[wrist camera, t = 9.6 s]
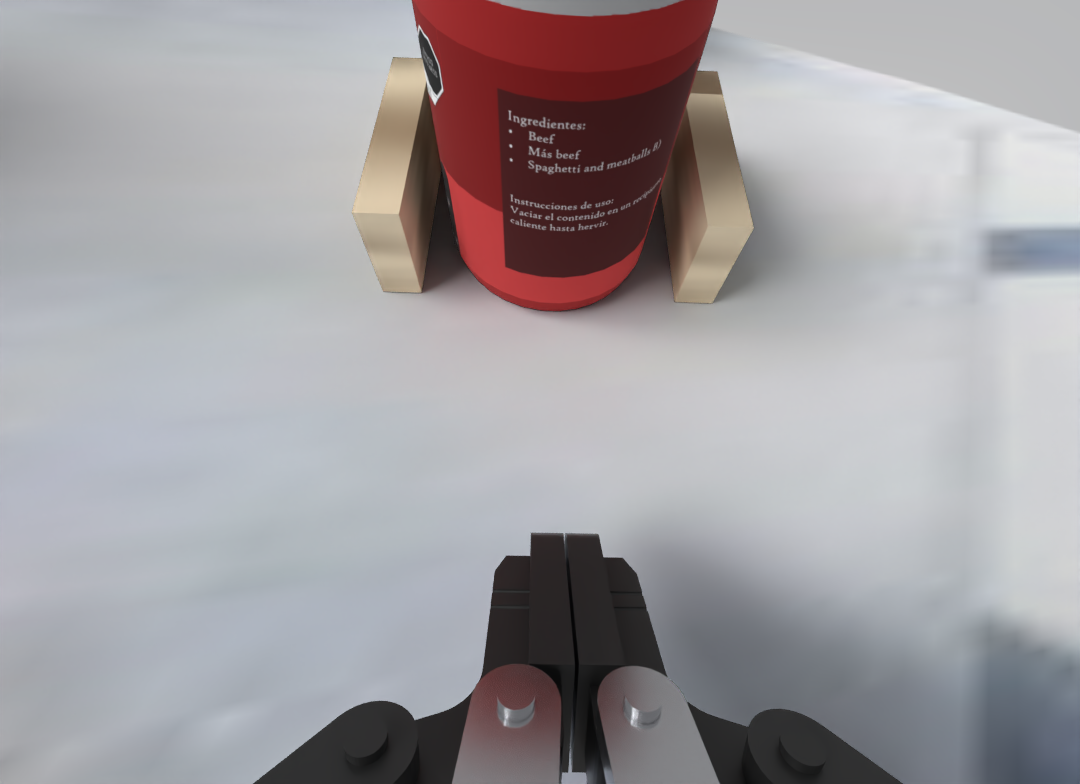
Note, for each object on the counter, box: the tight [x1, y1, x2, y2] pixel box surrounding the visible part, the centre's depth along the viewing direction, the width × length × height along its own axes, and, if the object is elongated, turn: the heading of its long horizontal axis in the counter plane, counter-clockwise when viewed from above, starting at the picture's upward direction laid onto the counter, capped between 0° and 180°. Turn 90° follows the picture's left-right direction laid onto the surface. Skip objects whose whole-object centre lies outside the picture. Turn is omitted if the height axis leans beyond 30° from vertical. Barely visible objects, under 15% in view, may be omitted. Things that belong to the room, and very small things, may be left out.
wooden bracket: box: [352, 57, 754, 303], centre depth 20 cm, size 8×13×4 cm, turn 89°
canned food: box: [412, 0, 718, 311], centre depth 16 cm, size 8×8×11 cm
